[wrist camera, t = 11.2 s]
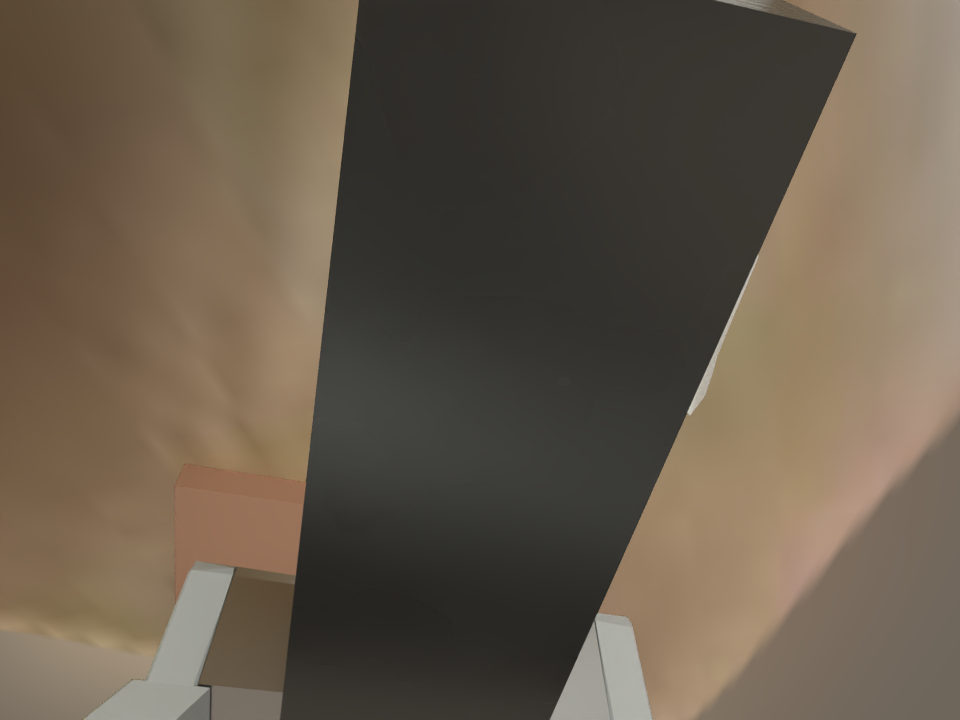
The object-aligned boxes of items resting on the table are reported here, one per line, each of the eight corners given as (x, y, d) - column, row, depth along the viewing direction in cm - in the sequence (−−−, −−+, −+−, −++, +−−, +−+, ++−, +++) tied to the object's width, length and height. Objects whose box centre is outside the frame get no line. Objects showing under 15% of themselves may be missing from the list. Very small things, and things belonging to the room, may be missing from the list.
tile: (174, 485, 27) (175, 627, 31) (371, 514, 28) (346, 647, 32) (188, 455, 28) (187, 595, 33) (376, 484, 29) (350, 616, 33)
